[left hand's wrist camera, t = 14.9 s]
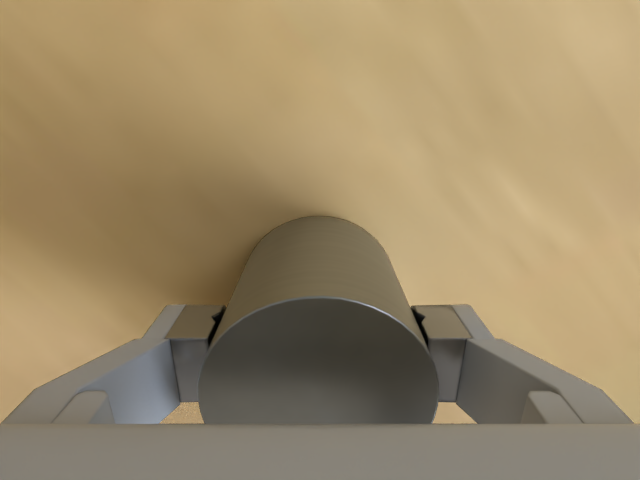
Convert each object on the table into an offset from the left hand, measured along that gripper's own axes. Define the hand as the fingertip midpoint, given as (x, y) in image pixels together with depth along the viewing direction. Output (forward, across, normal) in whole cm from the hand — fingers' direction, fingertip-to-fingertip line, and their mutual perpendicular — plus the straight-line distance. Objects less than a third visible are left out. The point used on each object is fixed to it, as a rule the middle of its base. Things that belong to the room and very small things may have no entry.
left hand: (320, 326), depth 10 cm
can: (+2, 0, 0) cm, 2 cm away
